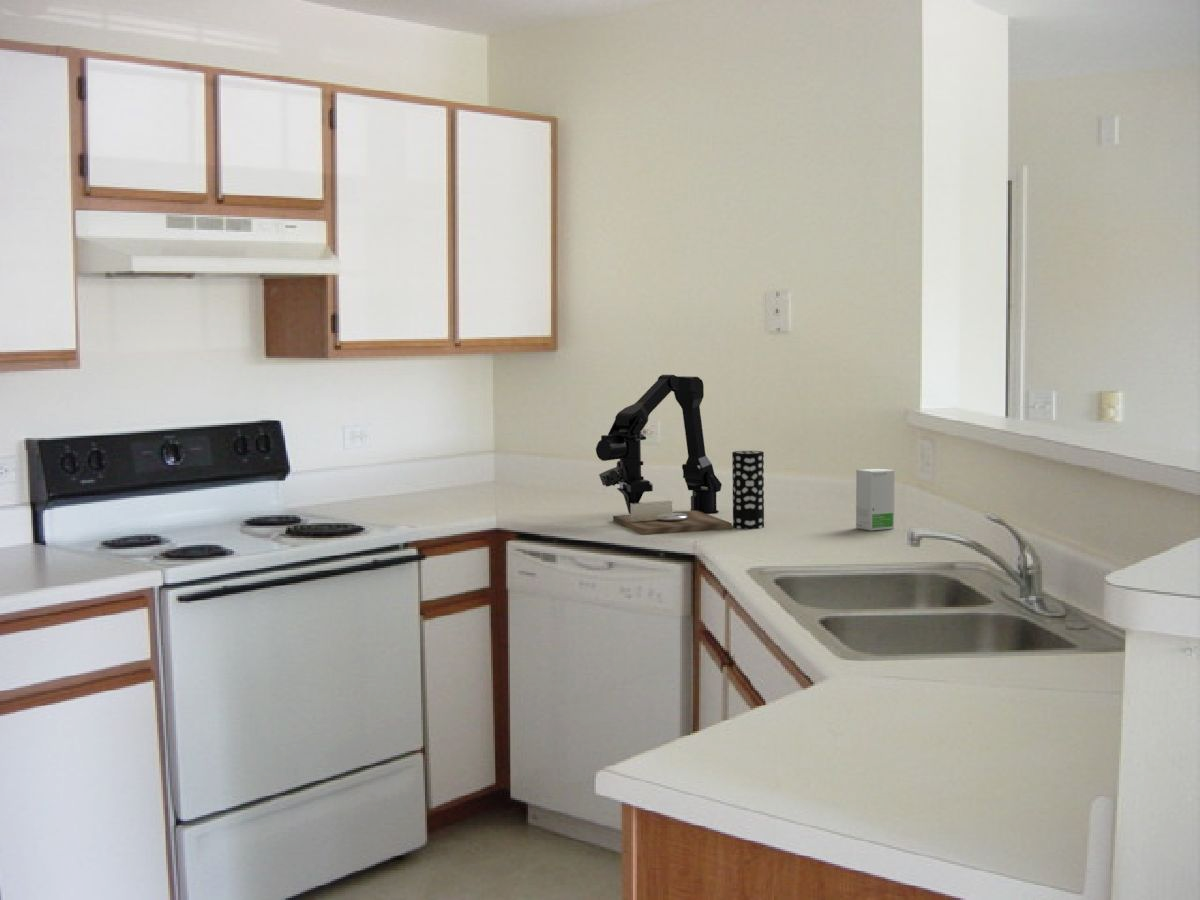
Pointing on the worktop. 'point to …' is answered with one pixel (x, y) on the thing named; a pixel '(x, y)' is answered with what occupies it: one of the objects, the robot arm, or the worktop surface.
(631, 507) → the cream block with dome
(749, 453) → the white-spotted black cylinder
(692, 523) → the dial plate
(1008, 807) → the worktop surface
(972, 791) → the worktop surface
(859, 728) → the worktop surface
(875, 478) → the skincare box
